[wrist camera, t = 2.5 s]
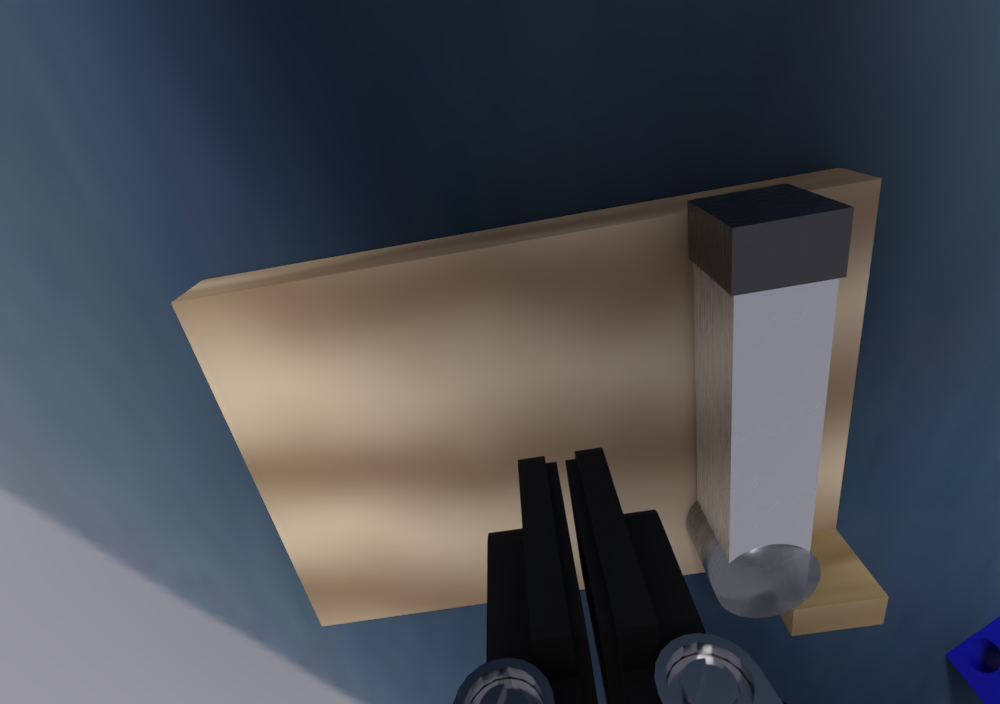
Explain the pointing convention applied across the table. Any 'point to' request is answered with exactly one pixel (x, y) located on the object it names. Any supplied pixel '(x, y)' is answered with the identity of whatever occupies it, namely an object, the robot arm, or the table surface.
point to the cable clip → (981, 662)
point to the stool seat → (495, 396)
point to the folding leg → (762, 386)
